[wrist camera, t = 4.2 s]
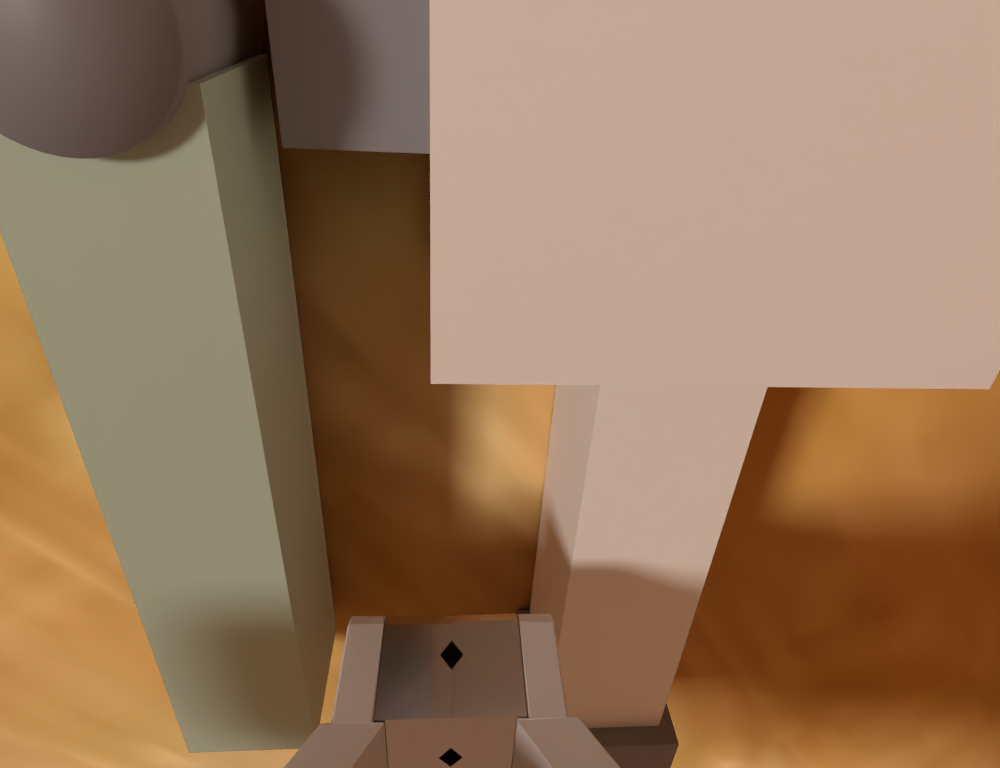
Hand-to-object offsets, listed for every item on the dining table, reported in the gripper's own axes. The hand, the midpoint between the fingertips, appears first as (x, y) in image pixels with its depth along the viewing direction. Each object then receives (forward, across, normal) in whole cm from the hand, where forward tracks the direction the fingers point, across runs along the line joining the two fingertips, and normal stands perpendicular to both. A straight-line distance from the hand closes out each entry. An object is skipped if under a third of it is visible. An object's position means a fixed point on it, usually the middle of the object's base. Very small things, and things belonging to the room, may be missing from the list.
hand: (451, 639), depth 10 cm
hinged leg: (+4, +4, -2) cm, 6 cm away
